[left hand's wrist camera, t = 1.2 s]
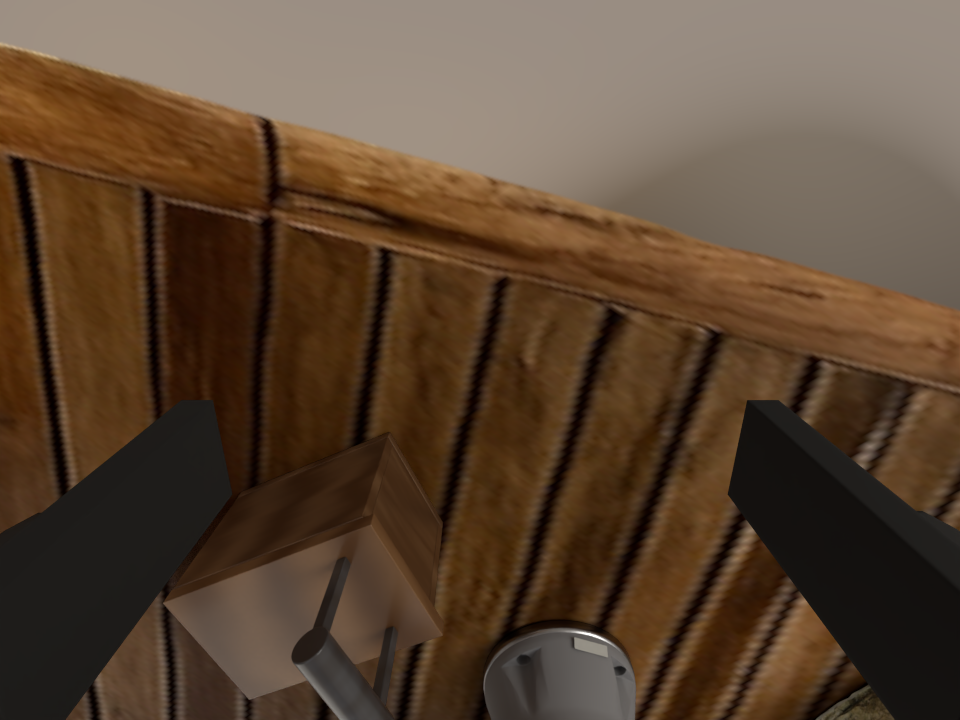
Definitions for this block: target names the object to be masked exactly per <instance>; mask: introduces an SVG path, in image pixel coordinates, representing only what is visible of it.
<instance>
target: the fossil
mask: <svg viewBox="0 0 960 720" xmlns="http://www.w3.org/2000/svg"><path fill="white" fill-rule="evenodd" d="M816 720H894V718H893V717H892V715H891V714H890V713H889V711H888V710H887V709H886V707H885V706H884V705H883V703H882V702H881V701H880V699H879V698H878V697H877V695H876V694H875V693H874V691H873V690H872V688H871V687H870V686H869V685H867V686H865V687H864V688H862V689H861V690H859V691H857V692H855V693H853V694H852V695H851V696H850V697H849V698H847V699H845V700H843V701H841V702H838V703H837V704H836V705H834V706H833V707H832V708H830V709H829V710H827V711H826V712H825V713H823V714H822V715H821V716H819V717H818V718H817V719H816Z"/></svg>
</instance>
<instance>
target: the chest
mask: <svg viewBox="0 0 960 720" xmlns="http://www.w3.org/2000/svg"><path fill="white" fill-rule="evenodd" d="M371 514H375V516H376V517H377V519H378V520H379V522H380V524H381V525H382V527H383V528H384V530H385V531H386V533H387V534H388V536H389V538H390V539H391V541H392V542H393V544H394V545H395V547H396V549H397V550H398V552H399V553H400V555H401V556H402V558H403V559H404V561H405V563H406V564H407V566H408V567H409V569H410V570H411V572H412V574H413V575H414V577H415V578H416V580H417V581H418V583H419V584H420V586H421V588H422V589H423V591H424V592H425V594H426V595H427V597H428V599H429V600H430V602H431V603H432V605H433V606H434V604H435V594H436V584H437V574H438V564H439V554H440V545H441V535H442V525H443V522H442V520H441V519H440V517H439V515H438V513H437V512H436V510H435V508H434V507H433V505H432V503H431V501H430V500H429V498H428V496H427V495H426V493H425V491H424V489H423V488H422V486H421V484H420V483H419V481H418V479H417V477H416V476H415V474H414V472H413V471H412V469H411V467H410V466H409V464H408V462H407V460H406V459H405V457H404V455H403V454H402V452H401V450H400V448H399V447H398V445H397V443H396V442H395V440H394V438H393V436H392V435H391V433H390V432H388V433H386V434H383V435H381V436H379V437H376V438H374V439H371V440H369V441H366V442H364V443H361V444H359V445H356V446H354V447H351V448H349V449H346V450H344V451H341V452H339V453H336V454H334V455H332V456H329V457H327V458H324V459H322V460H319V461H317V462H314V463H312V464H309V465H307V466H304V467H302V468H299V469H297V470H294V471H292V472H289V473H287V474H285V475H282V476H280V477H277V478H275V479H272V480H270V481H267V482H265V483H262V484H260V485H257V486H255V487H252V488H250V489H247V490H245V491H242V492H241V493H240V495H239V496H238V498H237V499H236V500H235V502H234V503H233V505H232V506H231V508H230V509H229V510H228V512H227V513H226V515H225V516H224V517H223V519H222V520H221V522H220V523H219V525H218V526H217V527H216V529H215V530H214V532H213V533H212V534H211V536H210V537H209V539H208V540H207V541H206V543H205V544H204V546H203V547H202V549H201V550H200V551H199V553H198V554H197V556H196V557H195V558H194V560H193V561H192V563H191V564H190V566H189V567H188V568H187V570H186V571H185V573H184V574H183V575H182V577H181V578H180V580H179V581H178V583H177V584H176V585H175V587H174V588H173V589H176V588H179V587H181V586H184V585H187V584H189V583H192V582H194V581H197V580H200V579H202V578H205V577H208V576H210V575H213V574H216V573H218V572H221V571H223V570H226V569H229V568H231V567H234V566H237V565H239V564H242V563H245V562H247V561H250V560H252V559H255V558H258V557H260V556H263V555H266V554H268V553H271V552H273V551H276V550H279V549H281V548H284V547H287V546H289V545H292V544H295V543H297V542H300V541H302V540H305V539H308V538H310V537H313V536H316V535H318V534H321V533H324V532H326V531H329V530H331V529H334V528H337V527H339V526H342V525H345V524H347V523H350V522H353V521H355V520H358V519H360V518H363V517H366V516H368V515H371Z"/></svg>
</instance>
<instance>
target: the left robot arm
mask: <svg viewBox="0 0 960 720" xmlns="http://www.w3.org/2000/svg"><path fill="white" fill-rule="evenodd" d="M231 495H232V491H231V486H230V481H229V476H228V472H227V467H226V462H225V457H224V452H223V448H222V443H221V438H220V433H219V428H218V423H217V419H216V414H215V409H214V404H213V400H181V401H180V402H179V403H178V404H176V405H175V406H174V407H173V408H171V409H170V410H169V411H168V412H166V413H165V414H164V415H163V416H161V417H160V418H159V419H158V420H156V421H155V422H154V423H153V424H151V425H150V426H149V427H148V428H146V429H145V430H144V431H143V432H142V433H140V434H139V435H138V436H137V437H135V438H134V439H133V440H132V441H130V442H129V443H128V444H127V445H125V446H124V447H123V448H122V449H120V450H119V451H118V452H117V453H115V454H114V455H113V456H112V457H110V458H109V459H108V460H107V461H106V462H104V463H103V464H102V465H101V466H99V467H98V468H97V469H96V470H94V471H93V472H92V473H91V474H89V475H88V476H87V477H86V478H84V479H83V480H82V481H81V482H79V483H78V484H77V485H76V486H74V487H73V488H72V489H71V490H70V491H68V492H67V493H66V494H65V495H63V496H62V497H61V498H60V499H58V500H57V501H56V502H55V503H53V504H52V505H51V506H50V507H48V508H47V509H46V510H45V511H43V512H42V513H37V514H35V515H33V516H31V517H30V518H28V519H26V520H24V521H22V522H20V523H18V524H16V525H15V526H13V527H11V528H9V529H7V530H5V531H3V532H2V533H1V534H0V720H66V718H67V717H68V715H69V714H70V713H71V711H72V710H73V709H74V707H75V706H76V705H77V703H78V702H79V701H80V699H81V698H82V697H83V695H84V694H85V693H86V691H87V690H88V688H89V687H90V686H91V684H92V683H93V682H94V680H95V679H96V678H97V676H98V675H99V674H100V672H101V671H102V670H103V668H104V667H105V666H106V664H107V663H108V661H109V660H110V659H111V657H112V656H113V655H114V653H115V652H116V651H117V649H118V648H119V647H120V645H121V644H122V643H123V641H124V640H125V639H126V637H127V636H128V634H129V633H130V632H131V630H132V629H133V628H134V626H135V625H136V624H137V622H138V621H139V620H140V618H141V617H142V616H143V614H144V613H145V611H146V610H147V609H148V607H149V606H150V605H151V603H152V602H153V601H154V599H155V598H156V597H157V595H158V594H159V593H160V591H161V590H162V589H163V587H164V586H165V584H166V583H167V582H168V580H169V579H170V578H171V576H172V575H173V574H174V572H175V571H176V570H177V568H178V567H179V566H180V564H181V563H182V562H183V560H184V559H185V557H186V556H187V555H188V553H189V552H190V551H191V549H192V548H193V547H194V545H195V544H196V543H197V541H198V540H199V539H200V537H201V536H202V535H203V533H204V532H205V530H206V529H207V528H208V526H209V525H210V524H211V522H212V521H213V520H214V518H215V517H216V516H217V514H218V513H219V512H220V510H221V509H222V508H223V506H224V505H225V503H226V502H227V501H228V499H229V498H230V497H231ZM728 495H729V497H730V498H731V499H732V501H733V502H734V503H735V505H736V506H737V508H738V509H739V510H740V512H741V513H742V514H743V516H744V517H745V518H746V520H747V521H748V522H749V524H750V525H751V526H752V528H753V529H754V530H755V532H756V533H757V535H758V536H759V537H760V539H761V540H762V541H763V543H764V544H765V545H766V547H767V548H768V549H769V551H770V552H771V553H772V555H773V556H774V557H775V559H776V560H777V562H778V563H779V564H780V566H781V567H782V568H783V570H784V571H785V572H786V574H787V575H788V576H789V578H790V579H791V580H792V582H793V583H794V584H795V586H796V587H797V589H798V590H799V591H800V593H801V594H802V595H803V597H804V598H805V599H806V601H807V602H808V603H809V605H810V606H811V607H812V609H813V610H814V611H815V613H816V614H817V616H818V617H819V618H820V620H821V621H822V622H823V624H824V625H825V626H826V628H827V629H828V630H829V632H830V633H831V634H832V636H833V637H834V639H835V640H836V641H837V643H838V644H839V645H840V647H841V648H842V649H843V651H844V652H845V653H846V655H847V656H848V657H849V659H850V660H851V661H852V663H853V664H854V666H855V667H856V668H857V670H858V671H859V672H860V674H861V675H862V676H863V678H864V679H865V680H866V682H867V683H868V684H869V686H870V687H871V688H872V690H873V691H874V693H875V694H876V695H877V697H878V698H879V699H880V701H881V702H882V703H883V705H884V706H885V707H886V709H887V710H888V711H889V713H890V714H891V715H892V717H893V718H894V720H960V531H958V530H957V529H955V528H953V527H952V526H950V525H948V524H946V523H944V522H942V521H940V520H938V519H936V518H935V517H933V516H931V515H929V514H927V513H925V512H923V511H915V510H914V509H913V508H912V507H910V506H909V505H908V504H907V503H905V502H904V501H903V500H902V499H900V498H899V497H898V496H897V495H895V494H894V493H893V492H892V491H890V490H889V489H888V488H887V487H886V486H884V485H883V484H882V483H881V482H879V481H878V480H877V479H876V478H874V477H873V476H872V475H871V474H869V473H868V472H867V471H866V470H864V469H863V468H862V467H861V466H859V465H858V464H857V463H856V462H854V461H853V460H852V459H851V458H850V457H848V456H847V455H846V454H845V453H843V452H842V451H841V450H840V449H838V448H837V447H836V446H835V445H833V444H832V443H831V442H830V441H828V440H827V439H826V438H825V437H823V436H822V435H821V434H820V433H818V432H817V431H816V430H815V429H814V428H812V427H811V426H810V425H809V424H807V423H806V422H805V421H804V420H802V419H801V418H800V417H799V416H797V415H796V414H795V413H794V412H792V411H791V410H790V409H789V408H787V407H786V406H785V405H784V404H782V403H781V402H780V401H779V400H747V404H746V409H745V414H744V419H743V423H742V428H741V433H740V438H739V443H738V448H737V452H736V457H735V462H734V467H733V472H732V476H731V481H730V486H729V491H728ZM484 695H485V701H486V705H487V708H488V711H489V714H490V717H491V720H635V700H636V684H635V677H634V672H633V668H632V665H631V661H630V658H629V655H628V653H627V651H626V650H625V648H624V647H623V645H622V644H621V643H620V642H619V641H618V640H617V639H616V638H615V637H614V636H612V635H611V634H609V633H608V632H606V631H604V630H602V629H600V628H598V627H596V626H593V625H590V624H586V623H582V622H576V621H564V620H558V621H547V622H541V623H536V624H533V625H529V626H526V627H524V628H521V629H519V630H517V631H515V632H513V633H512V634H510V635H508V636H507V637H506V638H504V639H503V640H502V641H501V642H499V643H498V644H497V645H496V646H495V648H494V649H493V650H492V651H491V653H490V655H489V656H488V658H487V661H486V664H485V667H484Z"/></svg>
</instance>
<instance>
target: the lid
mask: <svg viewBox="0 0 960 720" xmlns="http://www.w3.org/2000/svg"><path fill="white" fill-rule="evenodd" d="M163 604H164V605H165V606H166V607H167V608H168V609H169V611H170V612H171V613H172V614H173V615H174V616H175V617H176V618H177V619H178V621H179V622H180V623H181V624H182V625H183V626H184V627H185V628H186V630H187V631H188V632H189V633H190V634H191V635H192V636H193V637H194V638H195V640H196V641H197V642H198V643H199V644H200V645H201V646H202V647H203V648H204V650H205V651H206V652H207V653H208V654H209V655H210V656H211V657H212V659H213V660H214V661H215V662H216V663H217V664H218V665H219V666H220V667H221V669H222V670H223V671H224V672H225V673H226V674H227V675H228V676H229V678H230V679H231V680H232V681H233V682H234V683H235V684H236V685H237V686H238V688H239V689H240V690H241V691H242V692H243V693H244V694H245V695H246V697H247V698H248V699H253V698H256V697H259V696H262V695H265V694H268V693H271V692H274V691H277V690H280V689H283V688H286V687H289V686H292V685H295V684H298V683H301V682H304V681H308V682H309V683H310V684H311V685H312V687H313V688H314V689H315V690H316V692H317V693H318V694H319V695H320V696H321V698H322V699H323V700H324V701H325V703H326V704H327V705H328V706H329V707H330V709H331V710H332V711H333V712H334V714H335V715H336V716H337V717H338V718H339V720H394V717H393V715H392V714H391V713H390V711H389V710H388V709H387V707H386V701H387V696H388V690H389V684H390V678H391V672H392V666H393V661H394V655H395V651H398V650H401V649H404V648H407V647H410V646H413V645H416V644H419V643H422V642H425V641H428V640H431V639H434V638H437V637H440V636H442V635H443V623H444V622H443V620H442V619H441V617H440V616H439V614H438V613H437V611H436V609H435V608H434V606H433V605H432V603H431V602H430V600H429V599H428V597H427V595H426V594H425V592H424V591H423V589H422V588H421V586H420V584H419V583H418V581H417V580H416V578H415V577H414V575H413V574H412V572H411V570H410V569H409V567H408V566H407V564H406V563H405V561H404V559H403V558H402V556H401V555H400V553H399V552H398V550H397V549H396V547H395V545H394V544H393V542H392V541H391V539H390V538H389V536H388V534H387V533H386V531H385V530H384V528H383V527H382V525H381V524H380V522H379V520H378V519H377V517H376V516H375V514H371V515H368V516H366V517H363V518H360V519H358V520H355V521H353V522H350V523H347V524H345V525H342V526H339V527H337V528H334V529H331V530H329V531H326V532H324V533H321V534H318V535H316V536H313V537H310V538H308V539H305V540H302V541H300V542H297V543H295V544H292V545H289V546H287V547H284V548H281V549H279V550H276V551H273V552H271V553H268V554H266V555H263V556H260V557H258V558H255V559H252V560H250V561H247V562H245V563H242V564H239V565H237V566H234V567H231V568H229V569H226V570H223V571H221V572H218V573H216V574H213V575H210V576H208V577H205V578H202V579H200V580H197V581H194V582H192V583H189V584H187V585H184V586H181V587H179V588H176V589H173V590H172V591H171V592H170V594H169V595H168V596H167V598H166V599H165V601H164V602H163ZM377 657H380V658H379V663H378V668H377V673H376V678H375V683H374V688H373V689H372V688H371V686H370V685H369V684H368V682H367V681H366V680H365V678H364V677H363V676H362V674H361V673H360V672H359V670H358V669H357V668H356V666H355V664H358V663H361V662H364V661H367V660H371V659H374V658H377Z"/></svg>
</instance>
